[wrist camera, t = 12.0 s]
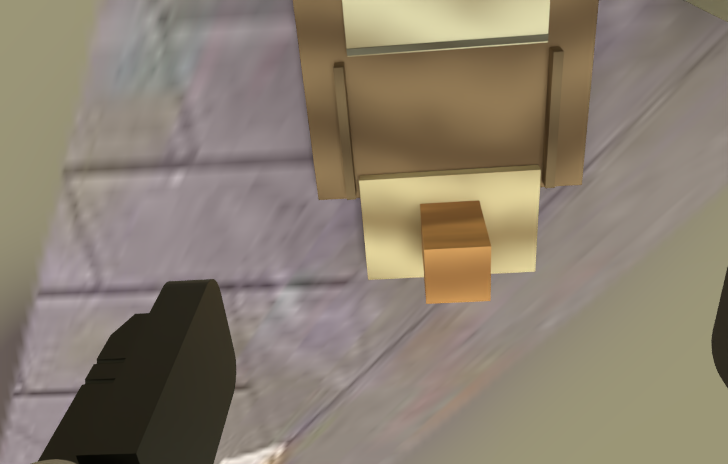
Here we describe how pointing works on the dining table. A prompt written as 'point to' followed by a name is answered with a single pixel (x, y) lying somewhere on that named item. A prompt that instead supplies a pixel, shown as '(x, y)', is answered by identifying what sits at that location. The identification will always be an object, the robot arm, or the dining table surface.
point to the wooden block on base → (451, 227)
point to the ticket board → (445, 86)
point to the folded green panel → (712, 7)
